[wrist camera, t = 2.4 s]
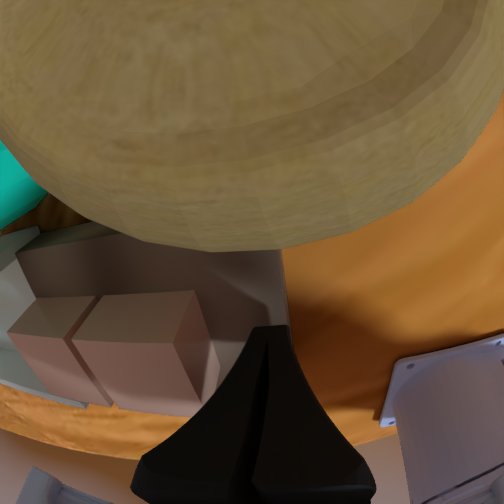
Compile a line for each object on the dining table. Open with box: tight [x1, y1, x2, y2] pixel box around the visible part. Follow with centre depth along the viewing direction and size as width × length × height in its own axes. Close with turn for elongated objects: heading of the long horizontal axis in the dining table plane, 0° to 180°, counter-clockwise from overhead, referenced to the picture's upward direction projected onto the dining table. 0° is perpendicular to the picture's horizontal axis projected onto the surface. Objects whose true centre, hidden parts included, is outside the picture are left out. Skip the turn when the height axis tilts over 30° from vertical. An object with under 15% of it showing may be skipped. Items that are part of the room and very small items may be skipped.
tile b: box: [7, 296, 114, 407], centre depth 13 cm, size 4×4×3 cm
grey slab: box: [15, 221, 293, 391], centre depth 14 cm, size 13×10×2 cm
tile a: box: [71, 290, 220, 417], centre depth 12 cm, size 4×4×3 cm
